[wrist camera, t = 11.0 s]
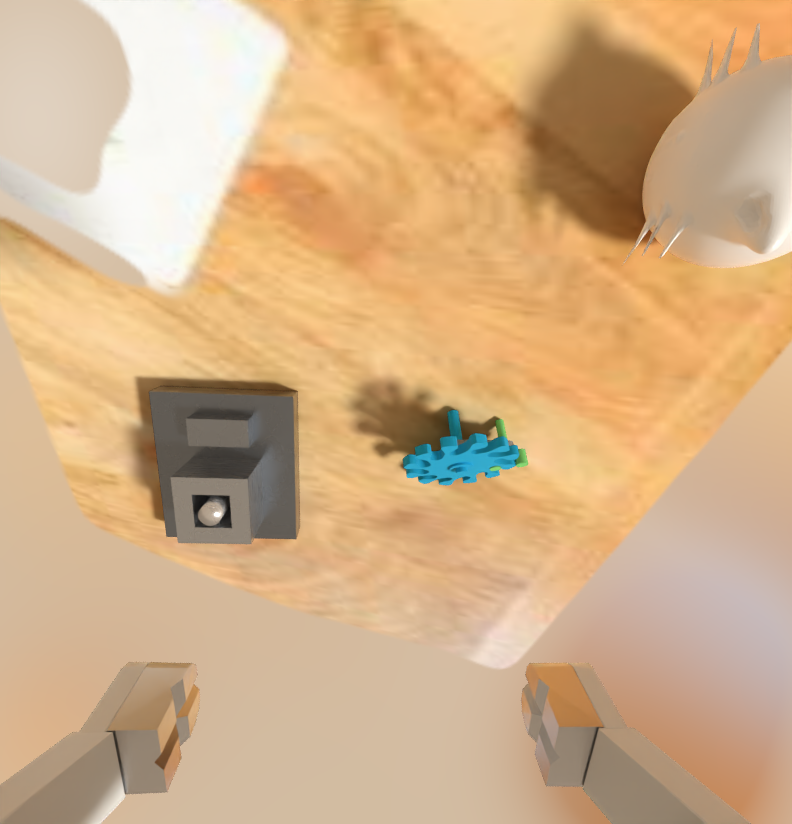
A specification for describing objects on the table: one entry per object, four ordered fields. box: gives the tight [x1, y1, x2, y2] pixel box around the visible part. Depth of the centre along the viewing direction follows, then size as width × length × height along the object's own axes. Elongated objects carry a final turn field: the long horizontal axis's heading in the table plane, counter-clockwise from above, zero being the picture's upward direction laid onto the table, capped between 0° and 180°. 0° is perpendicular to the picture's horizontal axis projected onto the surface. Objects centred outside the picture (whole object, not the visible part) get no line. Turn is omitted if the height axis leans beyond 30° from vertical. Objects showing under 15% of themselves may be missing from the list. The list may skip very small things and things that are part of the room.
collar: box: [171, 457, 264, 544], centre depth 36 cm, size 6×6×4 cm
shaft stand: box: [149, 386, 300, 539], centre depth 36 cm, size 14×12×6 cm
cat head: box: [623, 23, 792, 268], centre depth 28 cm, size 15×13×12 cm
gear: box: [403, 410, 528, 485], centre depth 37 cm, size 11×6×10 cm
